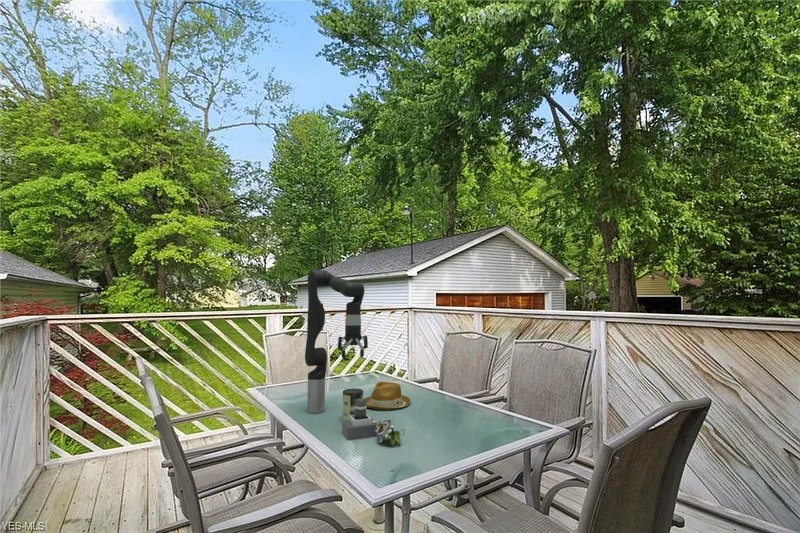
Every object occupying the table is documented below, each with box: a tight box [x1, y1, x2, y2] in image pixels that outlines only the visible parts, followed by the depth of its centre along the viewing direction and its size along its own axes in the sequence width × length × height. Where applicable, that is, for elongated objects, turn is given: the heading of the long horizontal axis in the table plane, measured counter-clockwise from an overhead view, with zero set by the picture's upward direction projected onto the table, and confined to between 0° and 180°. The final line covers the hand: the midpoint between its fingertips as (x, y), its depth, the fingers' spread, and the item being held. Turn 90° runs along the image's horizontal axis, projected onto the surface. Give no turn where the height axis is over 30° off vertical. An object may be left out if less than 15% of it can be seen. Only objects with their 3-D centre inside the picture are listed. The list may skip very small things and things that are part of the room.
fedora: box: [364, 381, 411, 411], centre depth 226 cm, size 27×29×12 cm
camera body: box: [341, 413, 379, 441], centre depth 178 cm, size 10×14×8 cm
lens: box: [355, 397, 368, 420], centre depth 179 cm, size 5×5×10 cm
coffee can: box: [342, 387, 364, 421], centre depth 199 cm, size 10×10×14 cm
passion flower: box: [375, 417, 406, 448], centre depth 169 cm, size 11×11×12 cm
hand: (352, 358), depth 190 cm, fingers open, 8 cm apart
